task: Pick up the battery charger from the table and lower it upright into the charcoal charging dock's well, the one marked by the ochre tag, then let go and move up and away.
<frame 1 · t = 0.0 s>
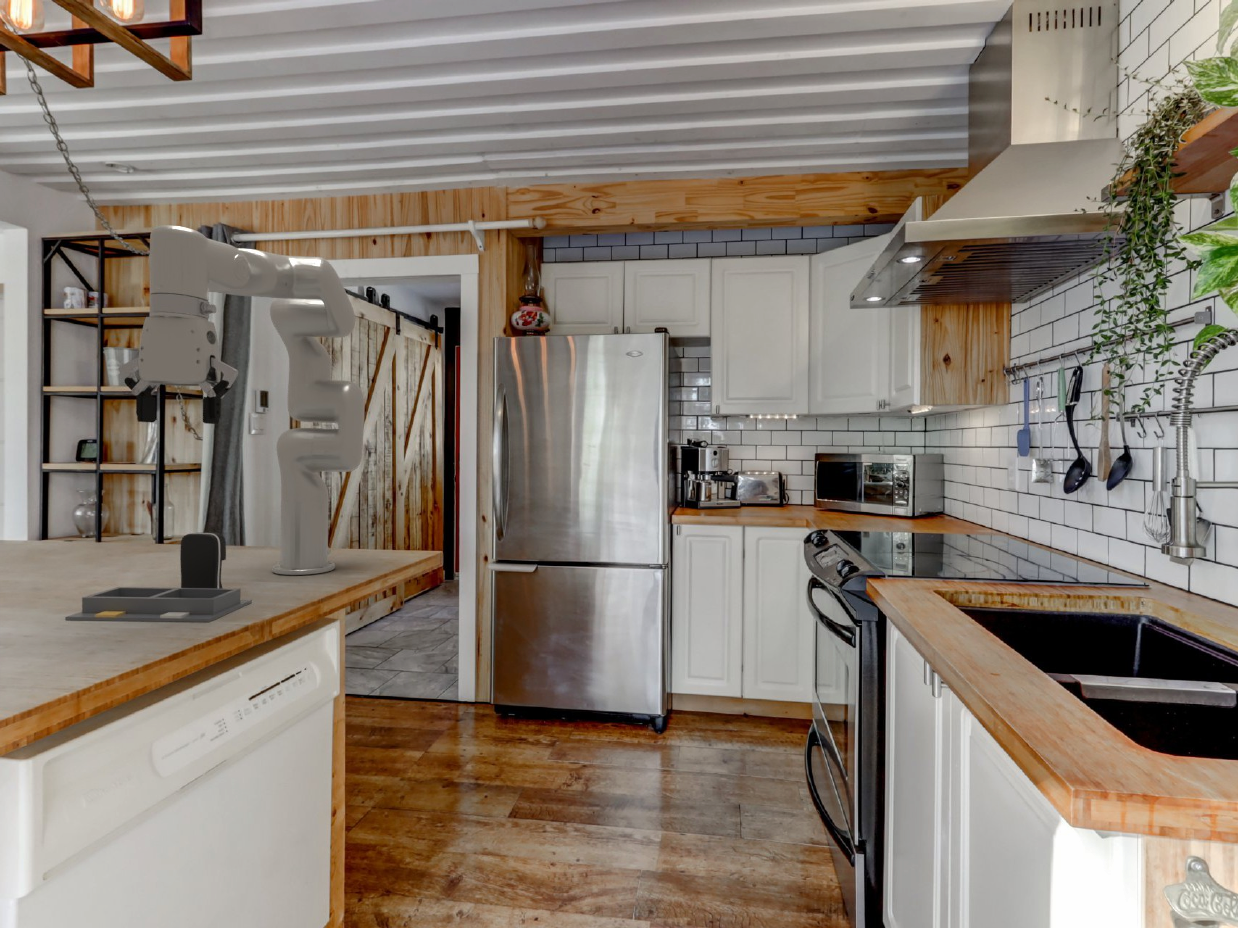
hand: (178, 422, 102), 31 cm above the countertop, tool pointing down, fingers open, 9 cm apart
battery charger: (204, 594, 124), on the countertop
dock: (164, 610, 111), on the countertop
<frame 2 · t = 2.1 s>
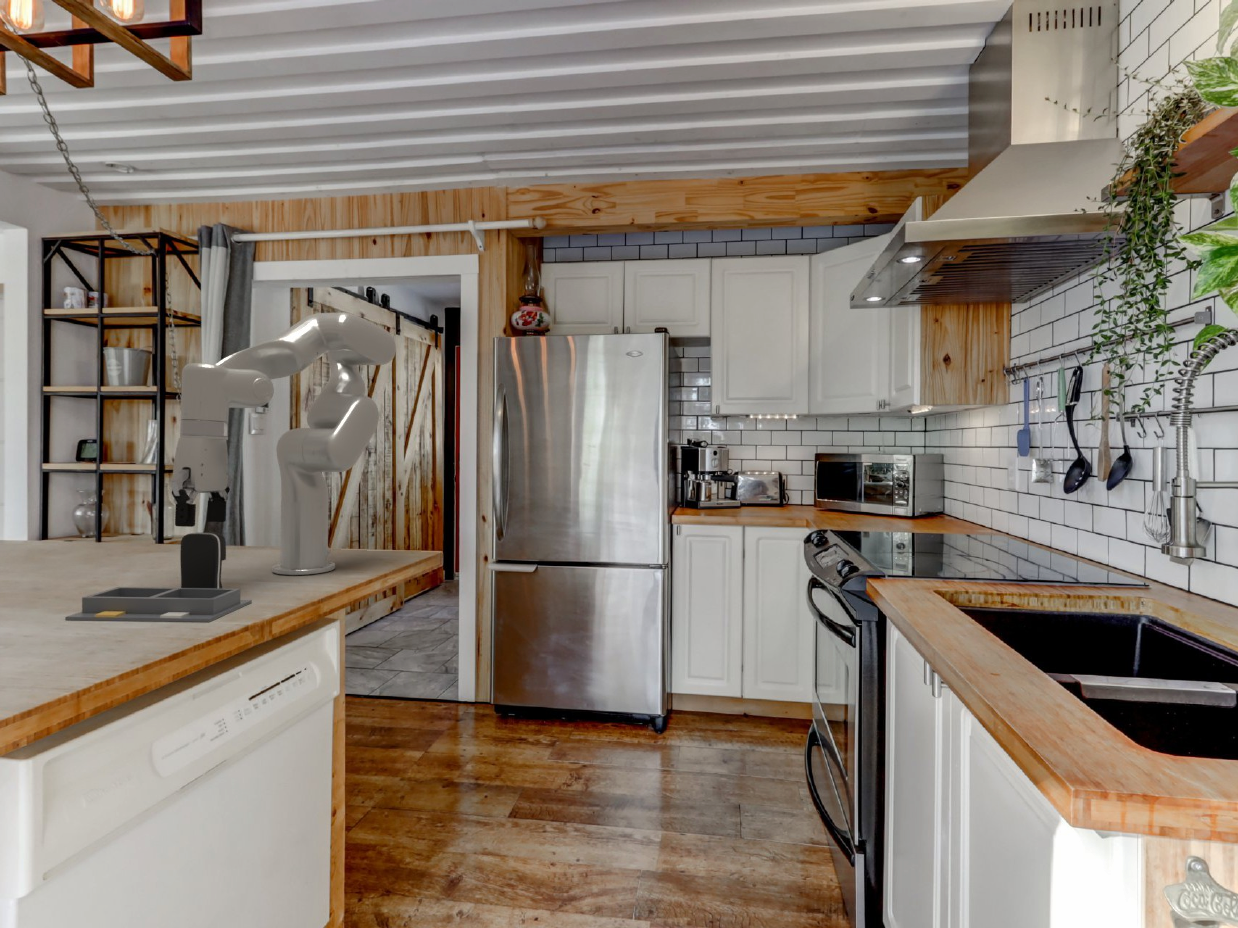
hand: (201, 523, 123), 13 cm above the countertop, tool pointing down, fingers open, 9 cm apart
nothing on the countertop moved.
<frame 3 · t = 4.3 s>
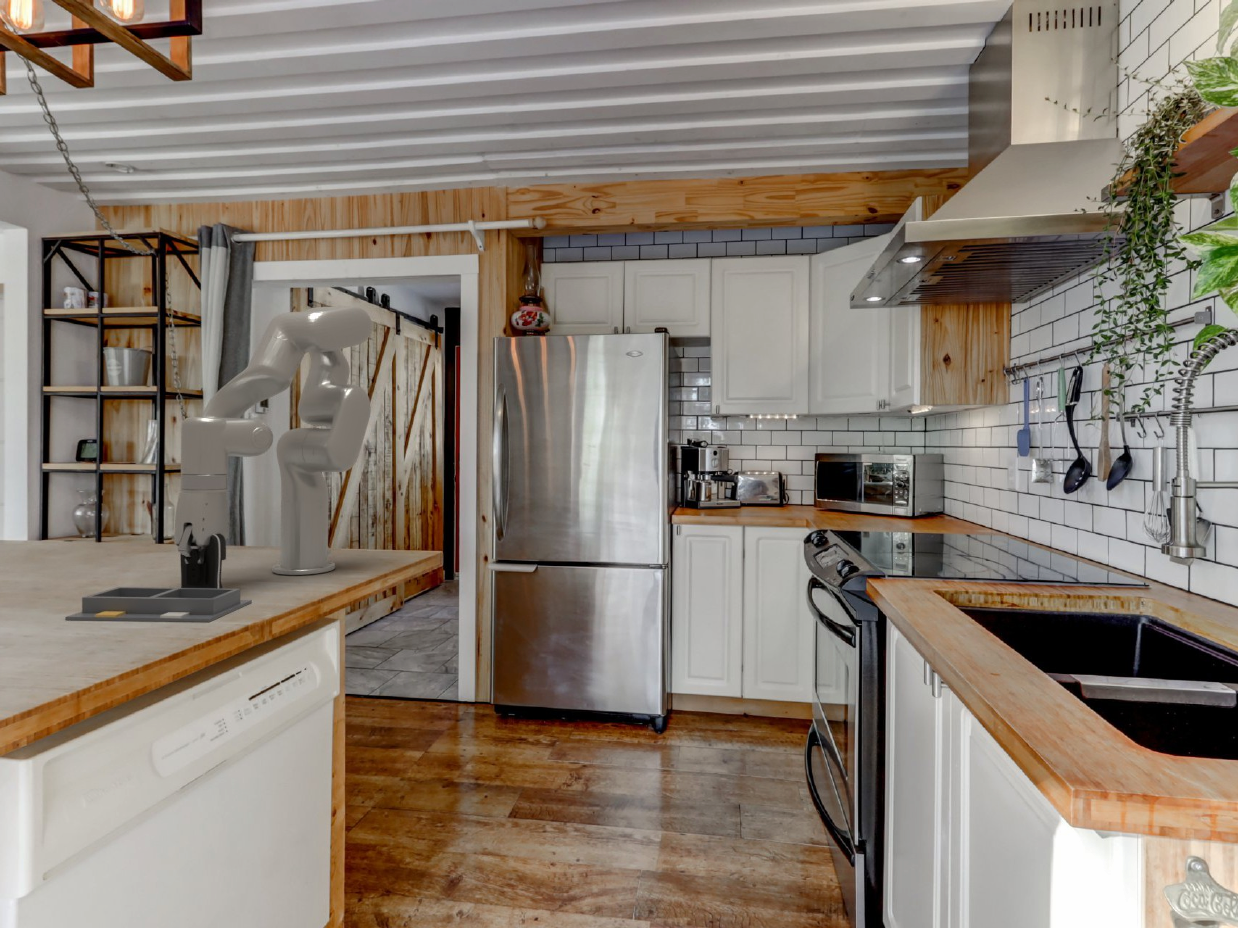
hand: (203, 581, 124), 2 cm above the countertop, tool pointing down, fingers closed on battery charger, 3 cm apart
battery charger: (204, 594, 124), on the countertop, touching gripper
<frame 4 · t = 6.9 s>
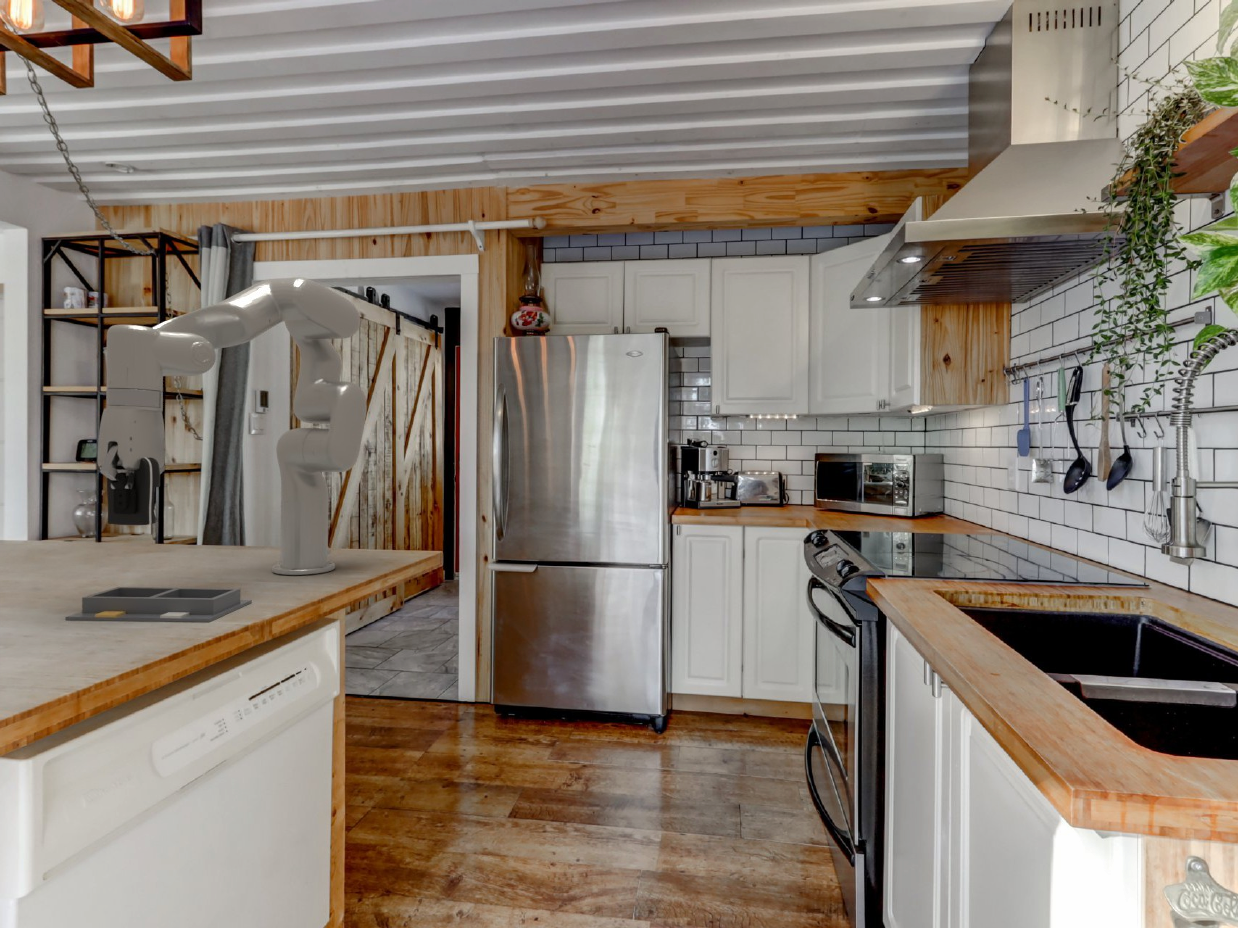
hand: (134, 511, 110), 17 cm above the countertop, tool pointing down, fingers closed on battery charger, 3 cm apart
battery charger: (135, 525, 110), point 14 cm above the countertop, touching gripper
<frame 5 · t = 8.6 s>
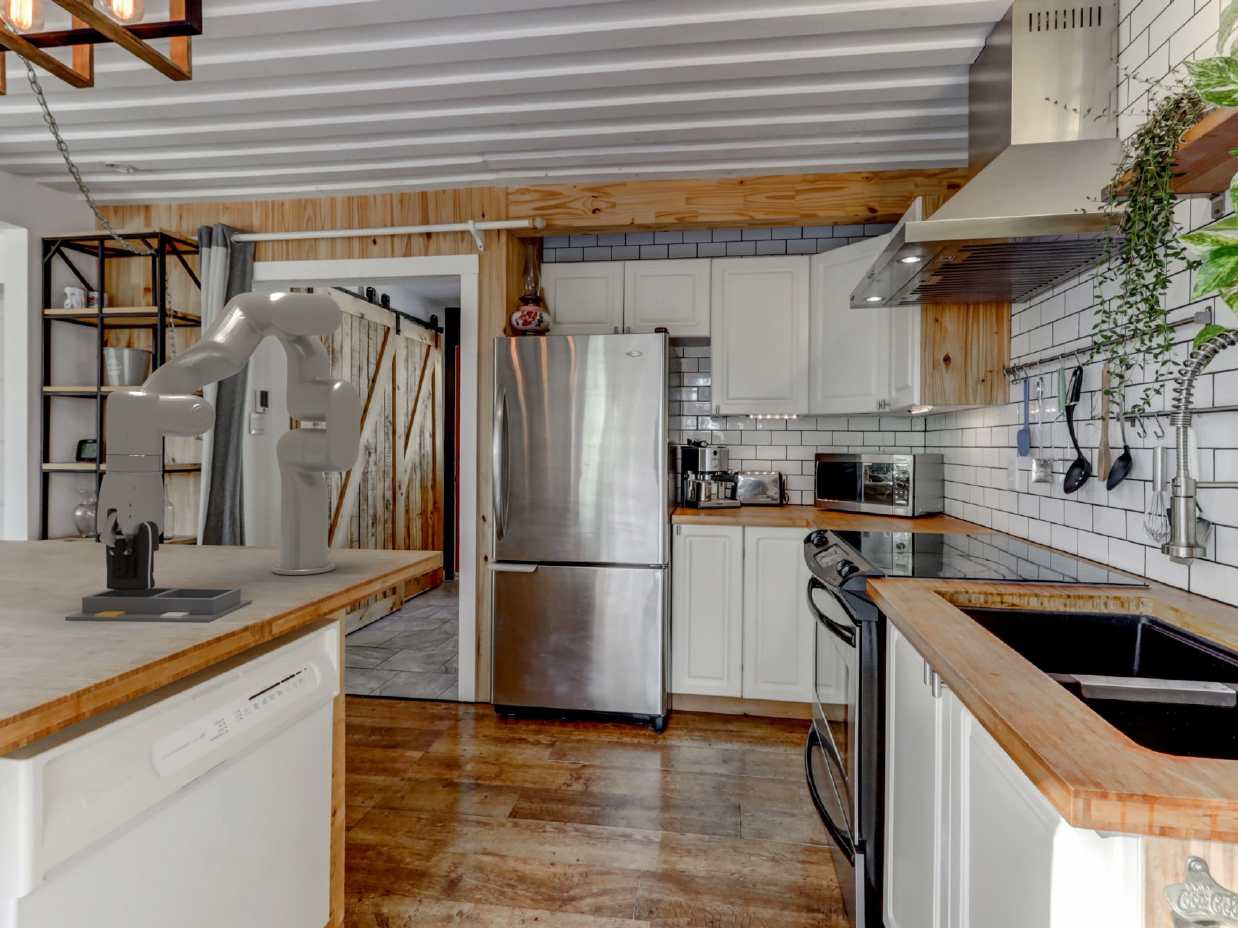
hand: (133, 575, 110), 6 cm above the countertop, tool pointing down, fingers closed on battery charger, 3 cm apart
battery charger: (133, 589, 111), point 3 cm above the countertop, touching gripper
when the fingers open (4 cm above the countertop, at t = 9.7 s): battery charger drops 1 cm, resting on dock.
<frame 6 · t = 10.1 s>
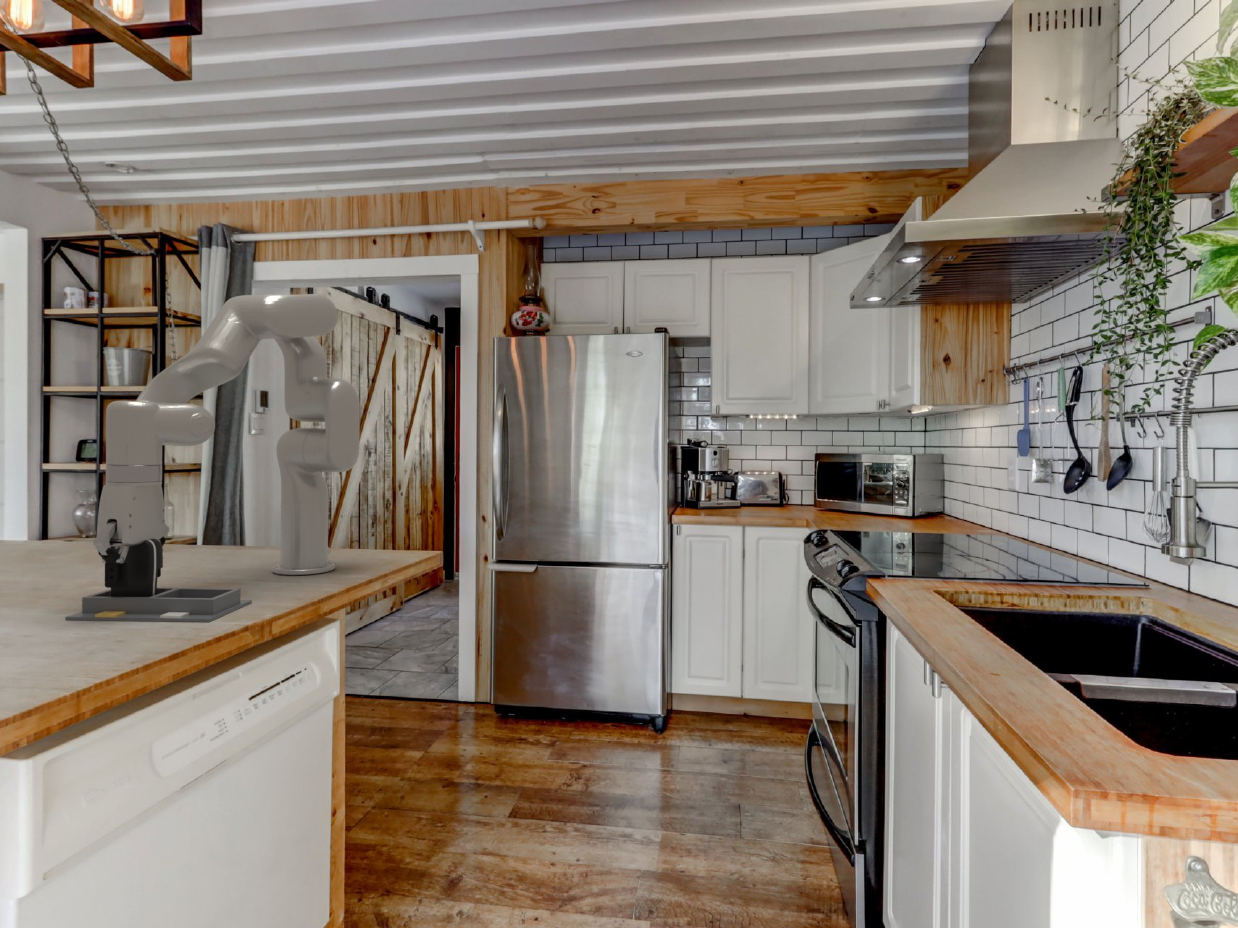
hand: (133, 581, 110), 5 cm above the countertop, tool pointing down, fingers open, 7 cm apart
battery charger: (137, 607, 112), resting on dock
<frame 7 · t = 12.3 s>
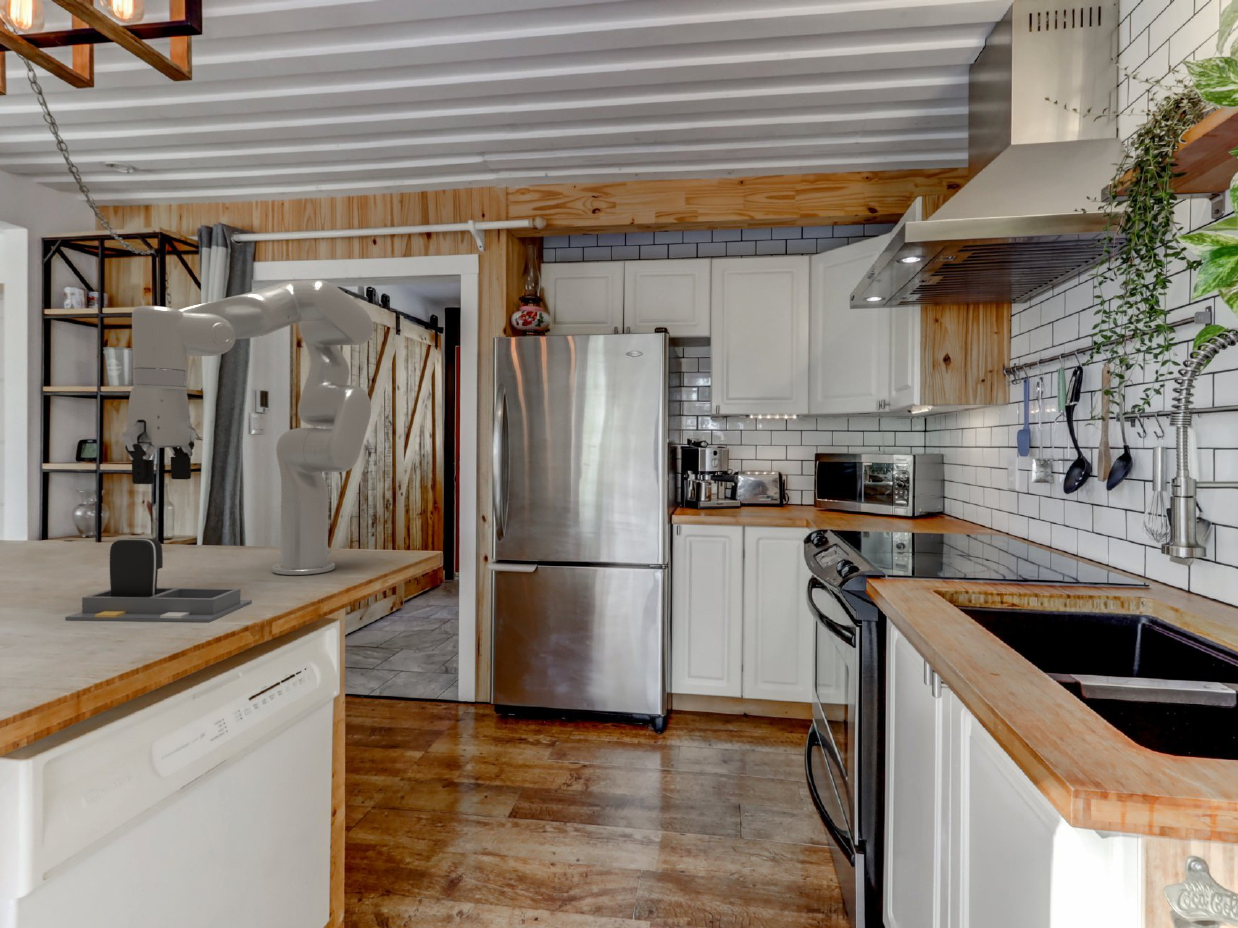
hand: (163, 481, 114), 21 cm above the countertop, tool pointing down, fingers open, 9 cm apart
nothing on the countertop moved.
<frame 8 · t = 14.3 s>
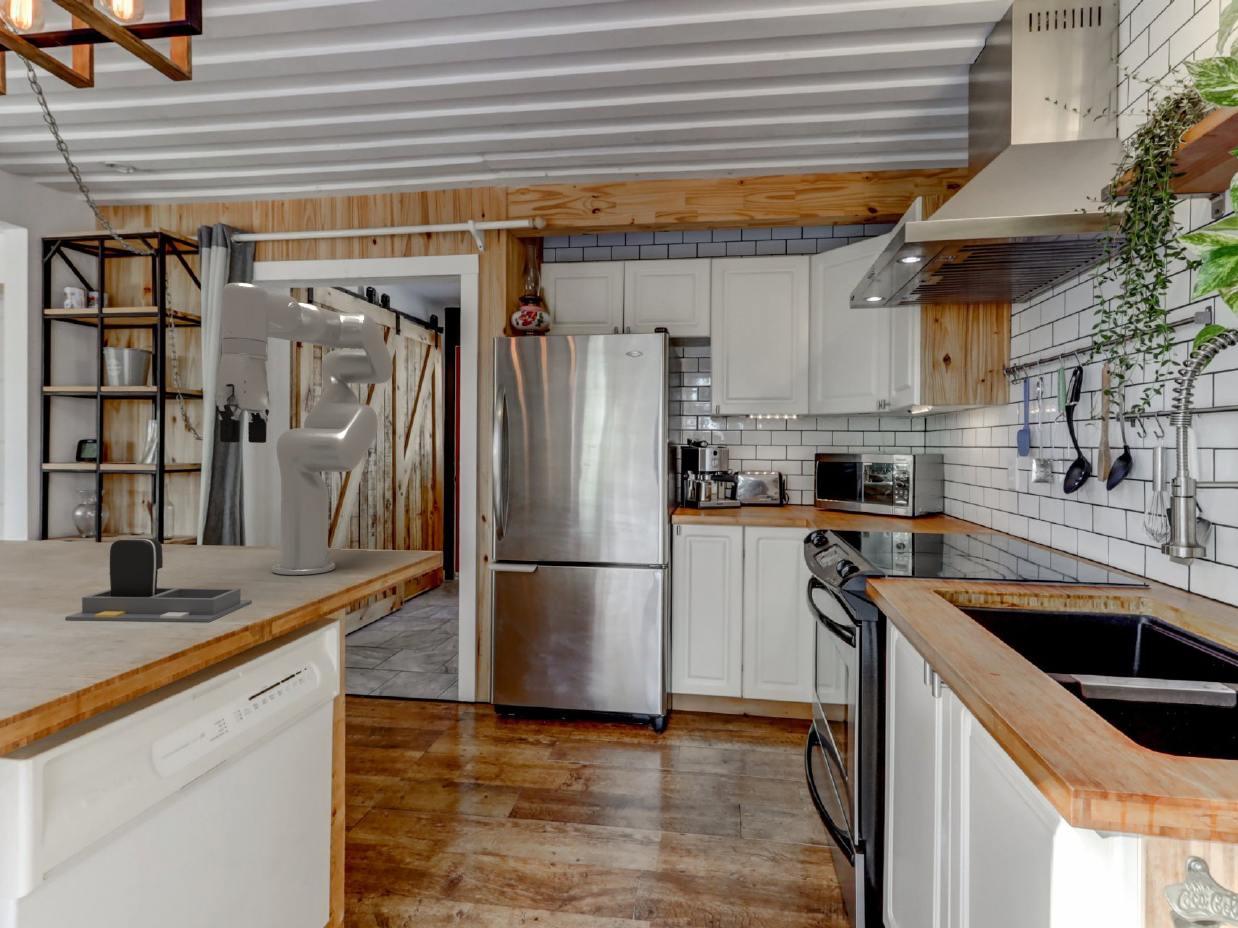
hand: (244, 442, 125), 28 cm above the countertop, tool pointing down, fingers open, 9 cm apart
nothing on the countertop moved.
at the end: battery charger 1.0 cm from the target spot on the dock, point 0.3 cm above the dock's base; battery charger tilted 0°; the gripper is holding nothing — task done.
